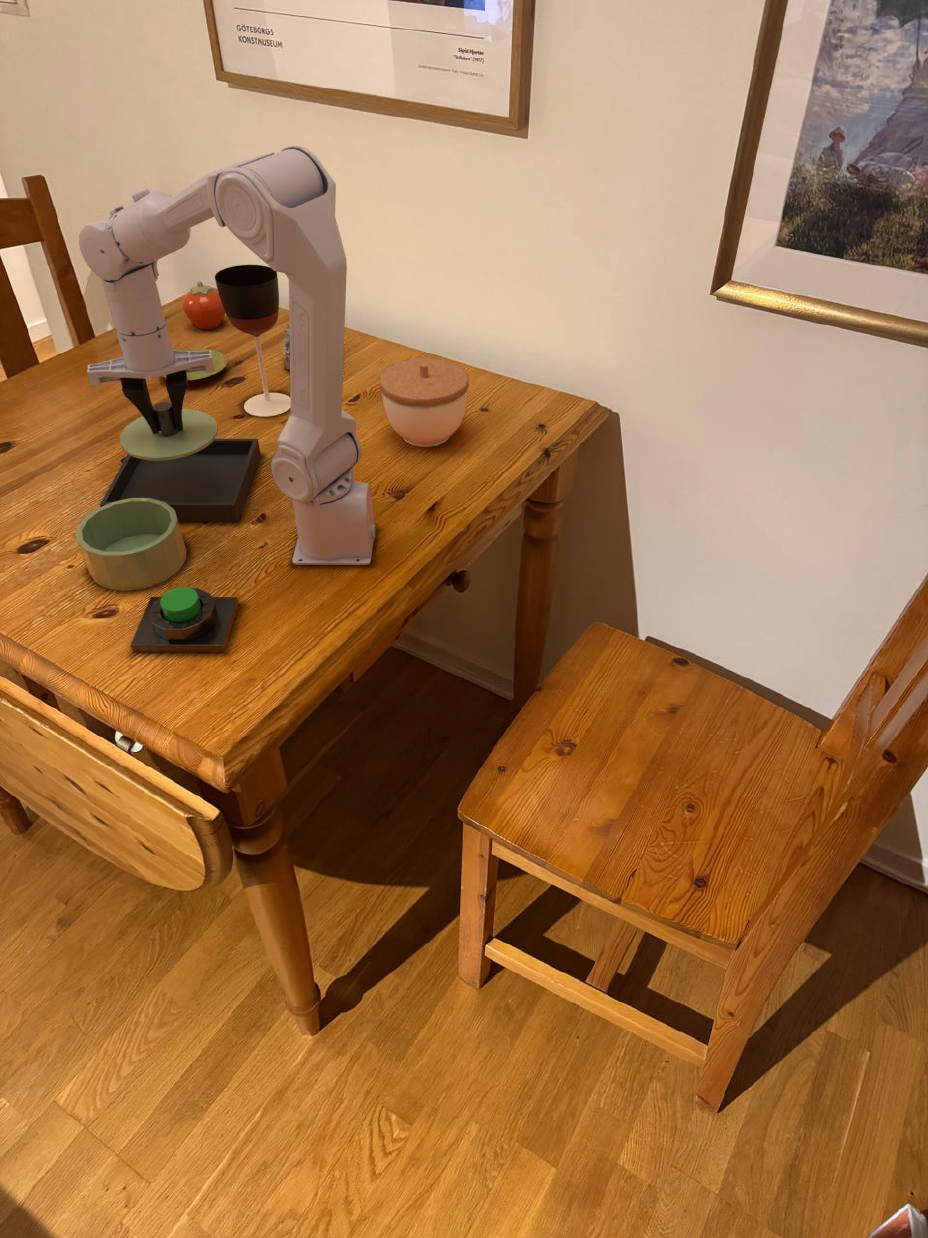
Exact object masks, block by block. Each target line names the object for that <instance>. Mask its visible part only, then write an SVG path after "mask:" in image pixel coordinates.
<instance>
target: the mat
mask: <svg viewBox="0 0 928 1238" xmlns="http://www.w3.org/2000/svg"><path fill="white" fill-rule="evenodd" d="M181 351H211V352H212V357H213V361H214V367H215V372H210V373H207V372H206V371H198V372H189V373H187V381H195V380H196V381H197V380H201V379H204V378H207V377H211V376H213V375H216V374H217V373H219V372H221V371H222V370H223V369H224V368H225V367H226V366H227V364H228V359H227V357H226V355H225V354H224V353H222V352H220V351H218V350H215V349H210V348H203V347H202V348H188V349H182V350H181ZM162 377H164V378H165V379H166V375H164V376H162Z"/></svg>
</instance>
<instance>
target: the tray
mask: <svg viewBox="0 0 928 1238" xmlns="http://www.w3.org/2000/svg"><path fill="white" fill-rule="evenodd" d="M261 457H262V453H261V448H260V443H259V439H258V438H215V439H214V440H213V442H212V443H211V444H210V445H208V446H207V447H205V448H204V449H202V450H200V451H198V452H196V453H194V454H191V455H189V456H186V457H182V458H178V459H172V460H164V461H151V460H143V459H139V458H135V457H133V456H131V455H129V454H127V455H126V457H125V458H124V460H123V462H122V464H121V465H120V467H119V469H118V471H117V473H116V474H115V476H114V479H113V480H112V482H111V484H110V485H109V487H108V489H107V491H106V492H105V494H104V496H103V498H102V500H101V501H100V503H99V508H100V507H102V506H105V505H107V504H109V503H112V502H115V501H119V500H124V499H129V498H152V499H155V500H159V501H163V502H165V503H167V504H168V505H169V506H171V507H172V508H173V509H174V510H175V512H176V516H177V519H178V523H239V521H240V518H241V515H242V512H243V509H244V506H245V504H246V501H247V498H248V494H249V493H250V489H251V486H252V483H253V480H254V477H255V475H256V472H257V468H258V466H259V462H260V460H261Z"/></svg>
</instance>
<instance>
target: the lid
mask: <svg viewBox="0 0 928 1238" xmlns="http://www.w3.org/2000/svg"><path fill="white" fill-rule="evenodd" d="M152 406H153V408H152V409H153V412H154V416H155V420H156V423H157V427H158V430H159V433H158V434H153V433H152V431H151V428H150V427H149V425H148V423H147V421H146V420H145V418H144V417H143V415H141V416H140V417H138V418H136V419H134V420H133V421H131V422H130V423H129V424H127V425H126V426H125V427H124V428H123V429H122V431H121V433H120V435H119V444H120V446H121V449H122V450H123V451H124V452H125V453H126V454H127V455H128V454H129V455H131V456H133V457H135V458H139V459H143V460H151V461H164V460H172V459H178V458H182V457H186V456H189V455H191V454H194V453H196V452H198V451H200V450H202V449H204V448H205V447H207V446H208V445H210V444H211V443H212V442H213V440H214V439H217V436H218V433H219V426H218V423H217V421H216V419H215V418H214V417H213V416H212V415H210V414H209V413H207V412H205V411H202V410H197V409H193V408H182V421H183V430H182V431H177V428H176V424H175V418H174V412H173V408H172V404H171V402H167V401H162V402H161V401H160V402H157V403H156V404H153V405H152Z"/></svg>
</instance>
